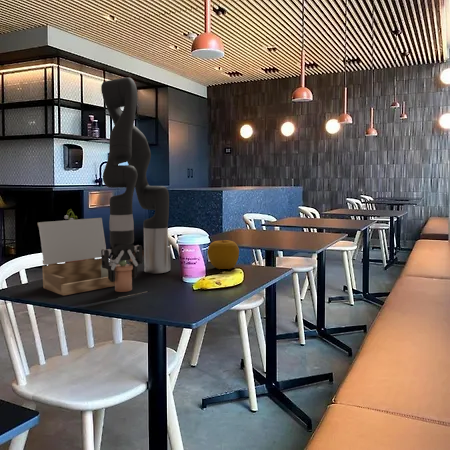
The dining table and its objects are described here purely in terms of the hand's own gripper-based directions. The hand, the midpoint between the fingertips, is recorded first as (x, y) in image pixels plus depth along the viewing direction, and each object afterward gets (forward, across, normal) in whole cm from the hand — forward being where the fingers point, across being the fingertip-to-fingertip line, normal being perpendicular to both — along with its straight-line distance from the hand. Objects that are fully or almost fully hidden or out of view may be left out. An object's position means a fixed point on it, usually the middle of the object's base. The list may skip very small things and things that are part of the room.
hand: (123, 279), depth 159 cm
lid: (-11, +5, -22) cm, 25 cm away
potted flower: (+4, -4, -39) cm, 39 cm away
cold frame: (+4, +5, -16) cm, 17 cm away
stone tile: (+4, 0, 0) cm, 4 cm away
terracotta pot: (+4, 0, 0) cm, 4 cm away
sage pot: (+3, -2, -13) cm, 14 cm away
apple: (+5, -51, -6) cm, 52 cm away
